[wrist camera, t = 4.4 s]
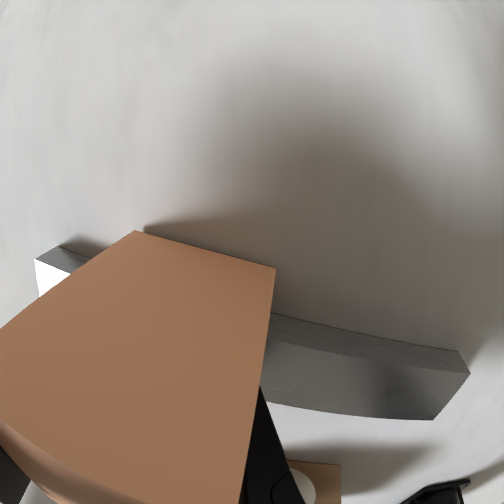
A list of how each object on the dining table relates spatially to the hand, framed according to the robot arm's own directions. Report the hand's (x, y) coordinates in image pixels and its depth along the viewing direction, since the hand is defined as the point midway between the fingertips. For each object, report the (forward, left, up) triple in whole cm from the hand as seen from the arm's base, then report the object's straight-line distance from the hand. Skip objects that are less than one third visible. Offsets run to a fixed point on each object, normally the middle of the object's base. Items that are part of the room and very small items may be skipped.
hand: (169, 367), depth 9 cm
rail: (-2, 0, -2) cm, 3 cm away
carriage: (0, 0, -2) cm, 2 cm away
